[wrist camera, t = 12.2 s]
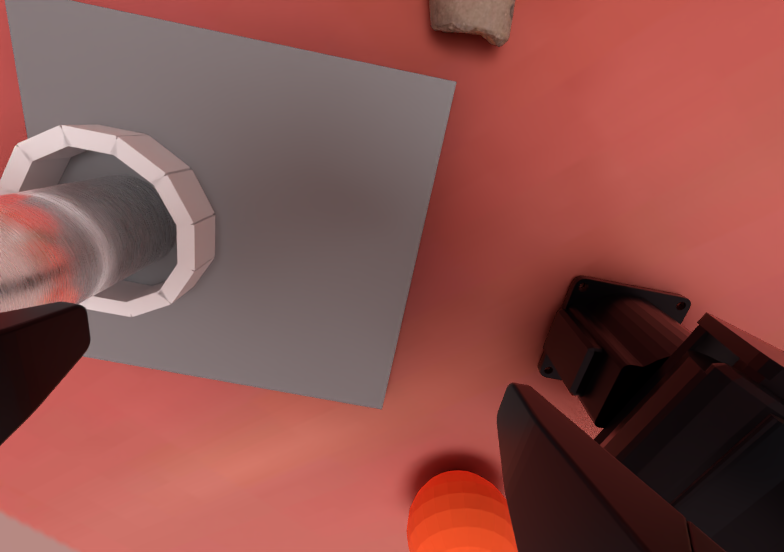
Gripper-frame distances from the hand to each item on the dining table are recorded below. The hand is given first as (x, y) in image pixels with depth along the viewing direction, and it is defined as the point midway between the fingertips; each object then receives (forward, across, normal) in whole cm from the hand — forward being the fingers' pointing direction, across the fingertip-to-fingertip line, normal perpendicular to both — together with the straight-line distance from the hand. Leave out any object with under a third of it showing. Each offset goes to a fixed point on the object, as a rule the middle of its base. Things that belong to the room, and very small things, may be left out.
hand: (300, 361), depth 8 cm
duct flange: (+13, +6, +2) cm, 15 cm away
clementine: (+13, -9, +18) cm, 24 cm away
